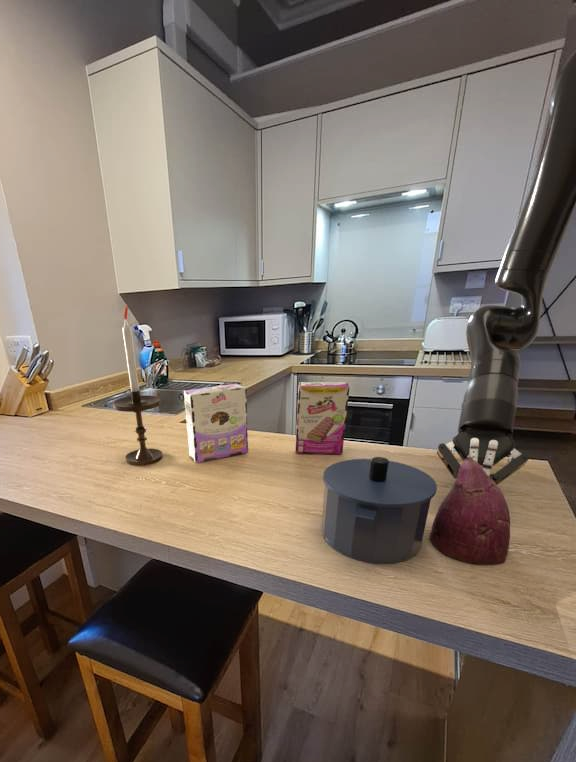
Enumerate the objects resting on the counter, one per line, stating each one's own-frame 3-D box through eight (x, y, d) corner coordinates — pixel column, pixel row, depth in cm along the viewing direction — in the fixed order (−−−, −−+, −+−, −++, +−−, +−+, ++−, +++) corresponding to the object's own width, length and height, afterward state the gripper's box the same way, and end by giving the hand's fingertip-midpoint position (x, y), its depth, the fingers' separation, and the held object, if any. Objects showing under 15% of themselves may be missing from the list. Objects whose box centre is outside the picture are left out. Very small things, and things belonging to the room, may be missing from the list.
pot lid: (437, 473, 61) (442, 448, 59) (433, 521, 49) (439, 492, 47) (335, 459, 68) (337, 437, 66) (310, 498, 56) (311, 472, 54)
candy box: (239, 446, 102) (237, 382, 94) (248, 453, 97) (247, 386, 89) (188, 455, 97) (182, 389, 90) (195, 463, 92) (190, 394, 85)
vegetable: (415, 553, 63) (401, 464, 59) (464, 530, 65) (453, 444, 62) (477, 579, 53) (465, 474, 49) (531, 551, 55) (524, 449, 52)
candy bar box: (295, 454, 95) (298, 386, 88) (295, 447, 99) (297, 381, 92) (343, 455, 93) (350, 385, 86) (341, 447, 97) (347, 381, 90)
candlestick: (169, 449, 102) (153, 302, 87) (162, 466, 92) (144, 303, 77) (128, 451, 102) (105, 304, 87) (117, 467, 92) (89, 306, 78)
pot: (424, 515, 67) (434, 464, 63) (415, 587, 51) (428, 525, 47) (337, 499, 73) (341, 452, 69) (305, 558, 58) (309, 502, 54)
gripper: (445, 393, 65) (426, 489, 61) (545, 400, 59) (531, 506, 55) (440, 415, 72) (423, 503, 68) (529, 423, 66) (516, 520, 62)
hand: (472, 504), depth 61 cm, fingers closed
